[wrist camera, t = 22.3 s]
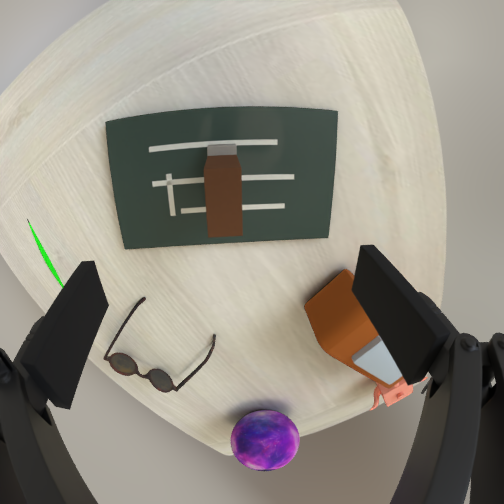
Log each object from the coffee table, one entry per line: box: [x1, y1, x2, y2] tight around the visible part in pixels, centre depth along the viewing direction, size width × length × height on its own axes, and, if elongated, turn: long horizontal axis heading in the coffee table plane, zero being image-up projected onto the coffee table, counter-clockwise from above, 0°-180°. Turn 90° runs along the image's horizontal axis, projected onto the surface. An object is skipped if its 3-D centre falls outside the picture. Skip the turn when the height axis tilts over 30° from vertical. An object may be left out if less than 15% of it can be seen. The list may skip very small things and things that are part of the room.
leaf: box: [27, 219, 64, 288], centre depth 33 cm, size 1×14×1 cm, turn 15°
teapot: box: [370, 377, 427, 410], centre depth 52 cm, size 12×15×8 cm
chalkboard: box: [106, 107, 338, 249], centre depth 31 cm, size 26×16×1 cm, turn 90°
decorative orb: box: [231, 410, 299, 471], centre depth 50 cm, size 15×15×15 cm
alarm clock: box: [304, 269, 404, 389], centre depth 40 cm, size 24×8×11 cm, turn 47°
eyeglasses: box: [104, 297, 216, 393], centre depth 40 cm, size 15×15×5 cm
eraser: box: [204, 144, 243, 238], centre depth 26 cm, size 8×3×8 cm, turn 0°
